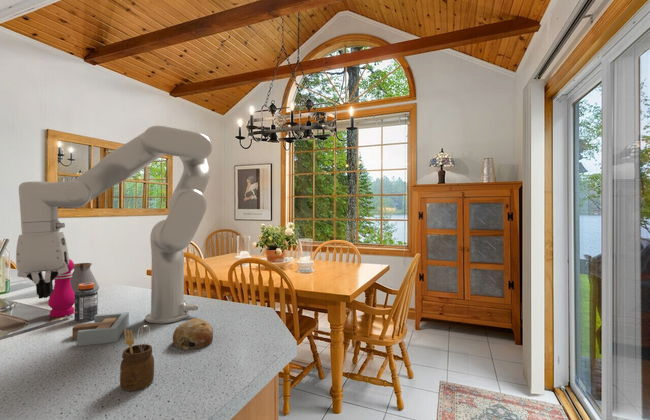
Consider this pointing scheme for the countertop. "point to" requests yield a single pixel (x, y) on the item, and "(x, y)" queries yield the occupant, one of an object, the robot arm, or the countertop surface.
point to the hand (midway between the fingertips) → (45, 296)
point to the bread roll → (193, 334)
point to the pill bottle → (85, 303)
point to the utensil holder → (136, 364)
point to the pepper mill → (62, 294)
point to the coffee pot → (82, 276)
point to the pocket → (104, 330)
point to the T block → (93, 326)
